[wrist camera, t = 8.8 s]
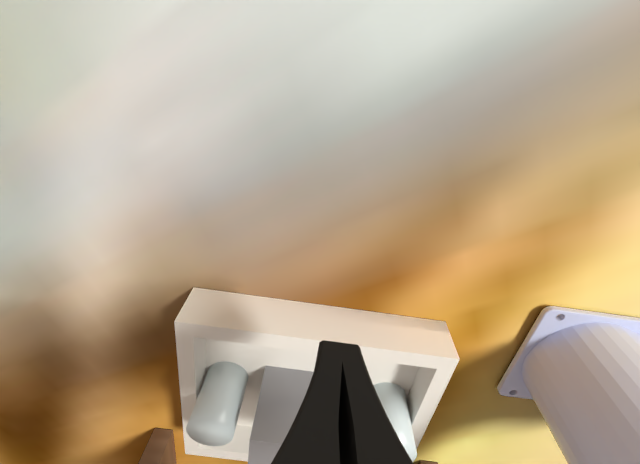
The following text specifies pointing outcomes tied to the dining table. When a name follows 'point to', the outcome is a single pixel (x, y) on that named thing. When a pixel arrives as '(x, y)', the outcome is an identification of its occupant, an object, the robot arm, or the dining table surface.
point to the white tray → (295, 368)
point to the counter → (172, 449)
